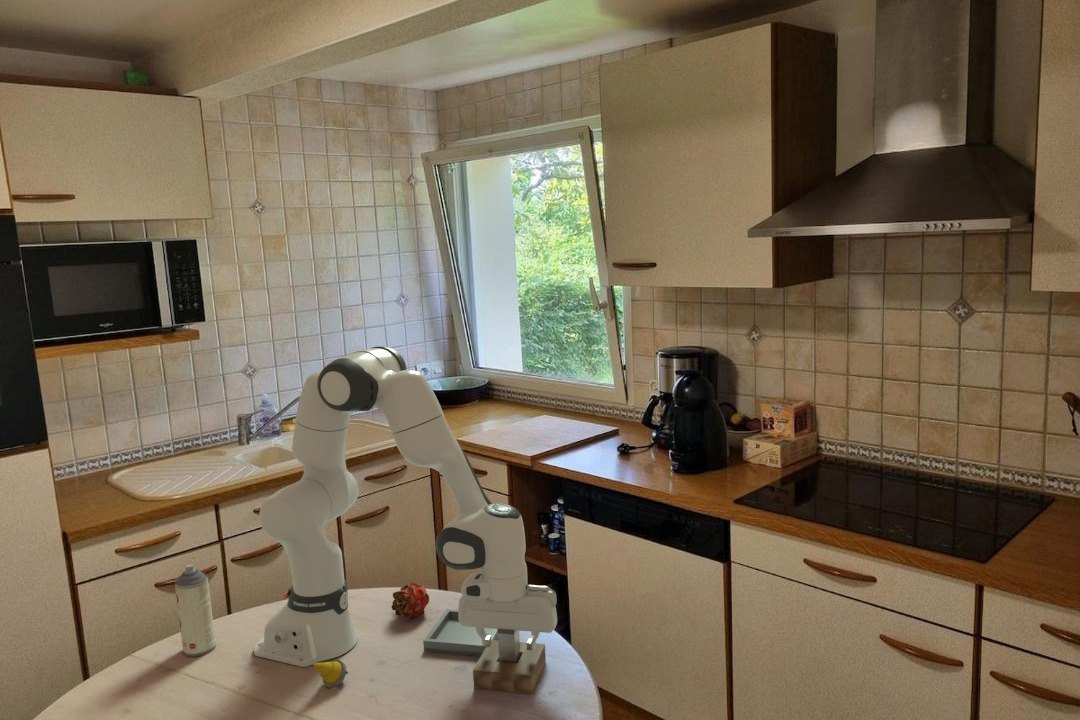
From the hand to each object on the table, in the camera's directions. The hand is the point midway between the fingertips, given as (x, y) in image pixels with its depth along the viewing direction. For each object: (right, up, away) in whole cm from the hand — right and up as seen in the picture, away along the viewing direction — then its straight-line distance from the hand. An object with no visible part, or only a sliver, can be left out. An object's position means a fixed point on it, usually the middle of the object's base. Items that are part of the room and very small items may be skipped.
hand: (509, 647), depth 163 cm
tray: (-10, -4, +17) cm, 20 cm away
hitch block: (0, -6, +1) cm, 6 cm away
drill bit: (-36, -8, 0) cm, 37 cm away
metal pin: (0, -6, +1) cm, 6 cm away
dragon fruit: (-25, -3, +29) cm, 39 cm away
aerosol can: (-71, -7, +17) cm, 73 cm away
